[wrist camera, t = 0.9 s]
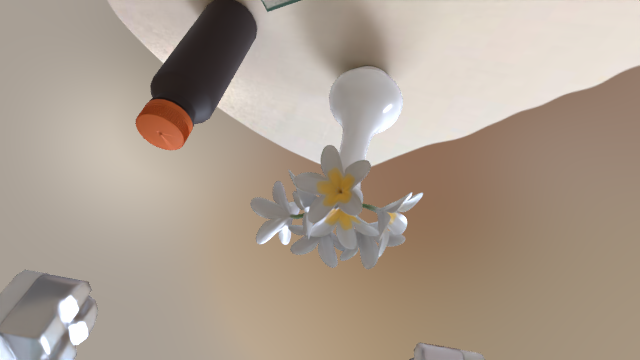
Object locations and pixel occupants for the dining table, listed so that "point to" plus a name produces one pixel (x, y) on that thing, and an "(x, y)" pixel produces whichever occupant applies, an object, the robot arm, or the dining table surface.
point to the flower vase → (342, 180)
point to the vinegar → (197, 74)
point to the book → (276, 3)
